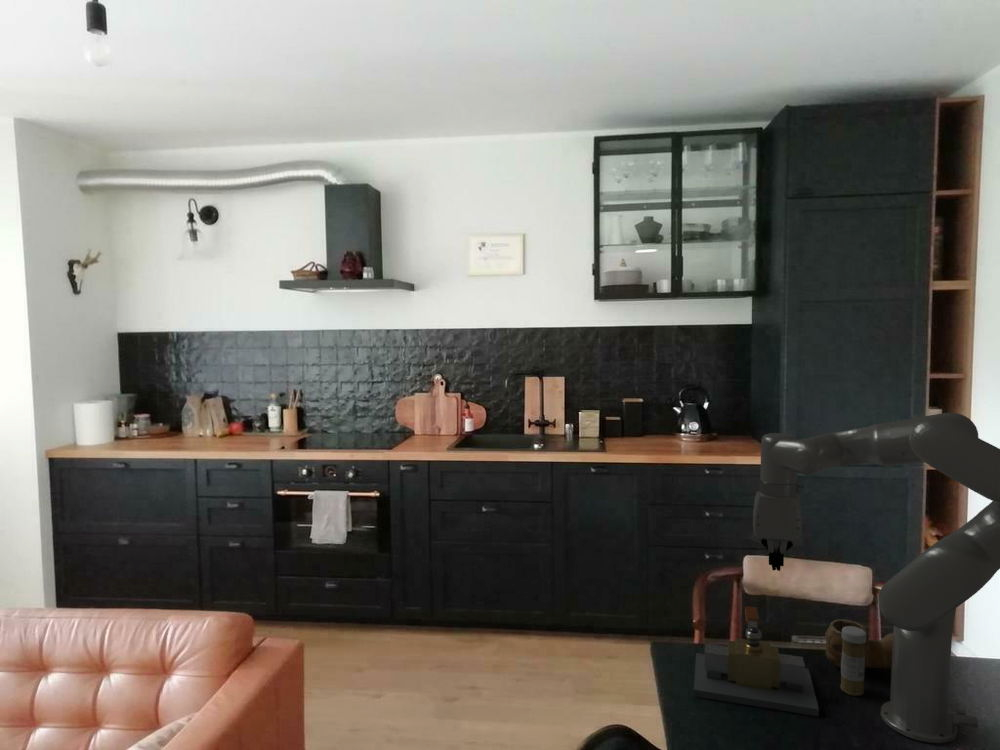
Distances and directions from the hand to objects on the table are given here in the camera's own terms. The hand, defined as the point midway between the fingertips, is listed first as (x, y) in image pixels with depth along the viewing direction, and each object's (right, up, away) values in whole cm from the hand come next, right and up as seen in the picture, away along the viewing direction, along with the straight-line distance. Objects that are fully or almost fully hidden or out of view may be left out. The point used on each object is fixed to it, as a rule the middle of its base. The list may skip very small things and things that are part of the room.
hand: (775, 568), depth 150 cm
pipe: (+20, -23, 0) cm, 31 cm away
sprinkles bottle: (+13, -24, -8) cm, 28 cm away
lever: (-6, -12, -2) cm, 14 cm away
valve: (-8, -22, -6) cm, 24 cm away
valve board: (-8, -24, -6) cm, 26 cm away
